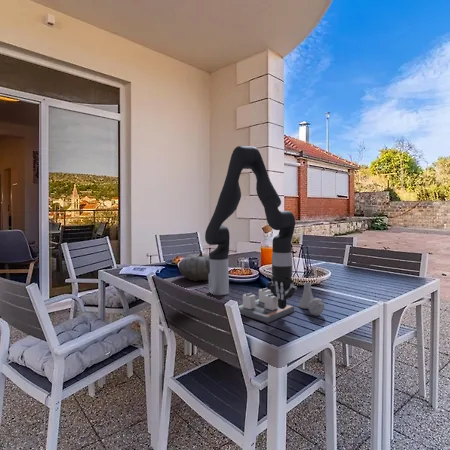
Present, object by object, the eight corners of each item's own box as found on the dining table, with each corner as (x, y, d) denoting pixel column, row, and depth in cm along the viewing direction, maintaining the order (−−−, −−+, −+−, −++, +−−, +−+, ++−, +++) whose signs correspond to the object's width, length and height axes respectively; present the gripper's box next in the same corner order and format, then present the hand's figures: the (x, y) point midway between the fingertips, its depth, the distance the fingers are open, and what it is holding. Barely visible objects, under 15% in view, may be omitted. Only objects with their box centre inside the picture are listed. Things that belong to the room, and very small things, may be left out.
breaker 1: (242, 307, 129) (242, 293, 129) (248, 305, 131) (247, 291, 131) (250, 309, 126) (250, 295, 126) (255, 307, 128) (255, 293, 128)
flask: (319, 306, 135) (319, 283, 135) (311, 311, 130) (311, 286, 129) (303, 303, 140) (303, 280, 139) (295, 307, 135) (295, 283, 134)
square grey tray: (234, 312, 130) (234, 307, 130) (261, 302, 142) (261, 298, 142) (267, 322, 118) (267, 317, 118) (294, 311, 130) (294, 306, 130)
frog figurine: (312, 319, 120) (312, 301, 120) (304, 313, 127) (304, 295, 127) (327, 318, 122) (327, 299, 121) (319, 312, 128) (319, 294, 128)
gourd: (186, 282, 171) (186, 249, 174) (171, 280, 193) (172, 251, 196) (228, 281, 182) (227, 250, 185) (209, 279, 204) (209, 252, 207)
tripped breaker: (264, 308, 128) (264, 294, 127) (269, 306, 130) (269, 292, 129) (272, 310, 125) (272, 296, 124) (277, 308, 127) (277, 294, 127)
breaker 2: (258, 301, 136) (258, 288, 136) (263, 299, 138) (263, 287, 138) (266, 303, 133) (266, 290, 133) (271, 301, 135) (270, 288, 135)
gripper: (262, 263, 124) (262, 307, 126) (291, 267, 115) (291, 315, 116) (273, 260, 130) (274, 302, 131) (302, 264, 120) (302, 309, 121)
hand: (282, 308), depth 123 cm, fingers closed
